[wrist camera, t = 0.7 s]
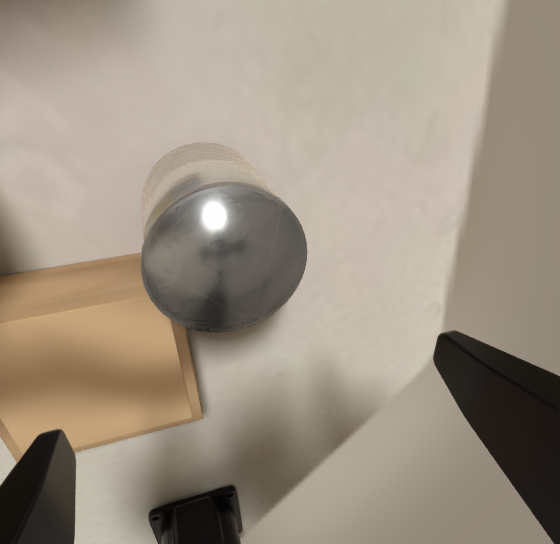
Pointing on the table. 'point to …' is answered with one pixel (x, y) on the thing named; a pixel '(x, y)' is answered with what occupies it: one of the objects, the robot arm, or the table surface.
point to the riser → (90, 357)
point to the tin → (217, 241)
